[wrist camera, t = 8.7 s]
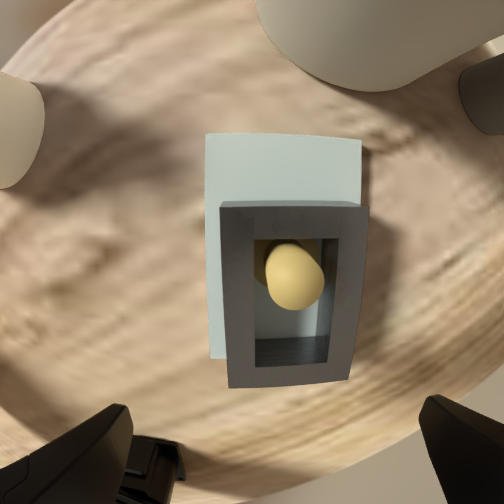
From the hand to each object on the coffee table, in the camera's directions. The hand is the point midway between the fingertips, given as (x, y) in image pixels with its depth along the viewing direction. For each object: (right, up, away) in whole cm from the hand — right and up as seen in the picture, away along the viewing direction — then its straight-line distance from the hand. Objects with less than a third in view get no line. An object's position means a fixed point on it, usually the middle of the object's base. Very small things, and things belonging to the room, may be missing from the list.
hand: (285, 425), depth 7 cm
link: (+1, +3, +10) cm, 11 cm away
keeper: (+1, +5, +11) cm, 12 cm away
